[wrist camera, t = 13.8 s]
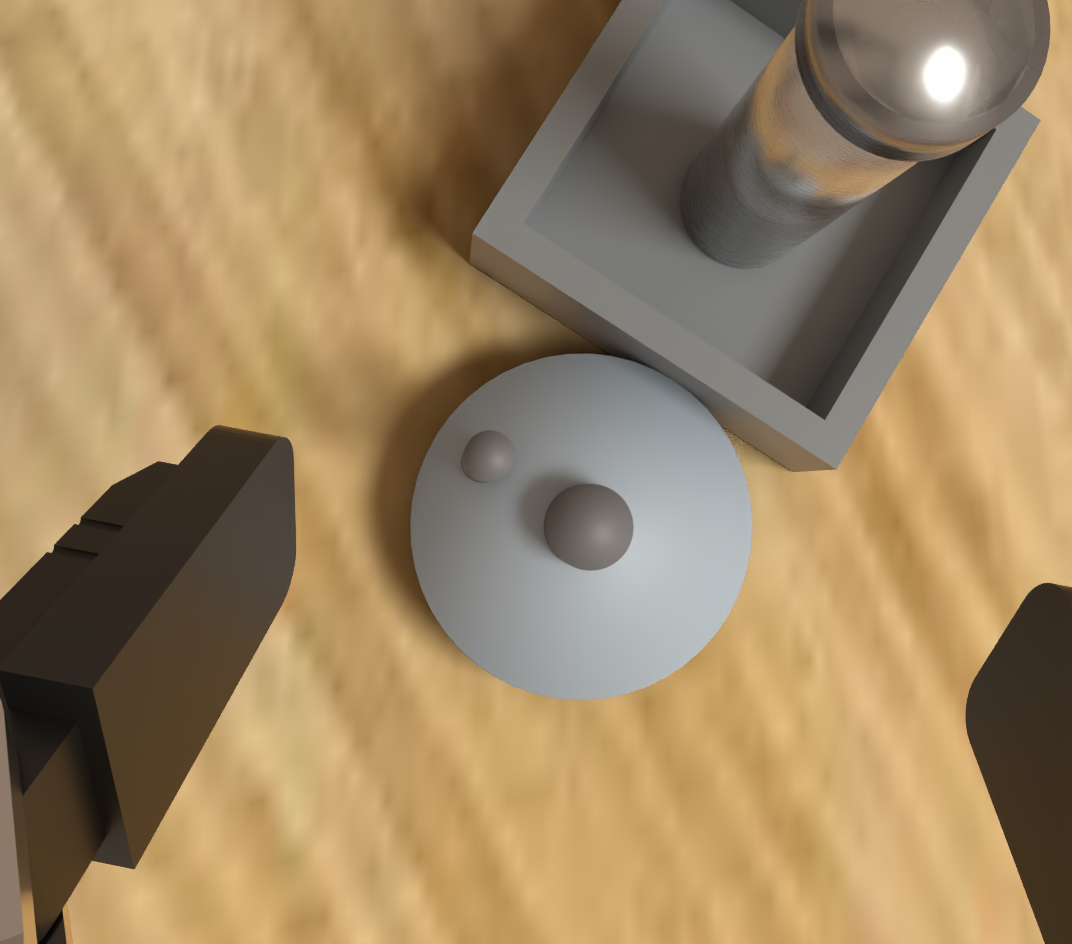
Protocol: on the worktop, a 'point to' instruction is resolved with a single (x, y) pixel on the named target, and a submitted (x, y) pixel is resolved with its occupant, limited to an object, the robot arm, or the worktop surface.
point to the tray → (694, 278)
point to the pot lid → (581, 526)
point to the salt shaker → (856, 114)
